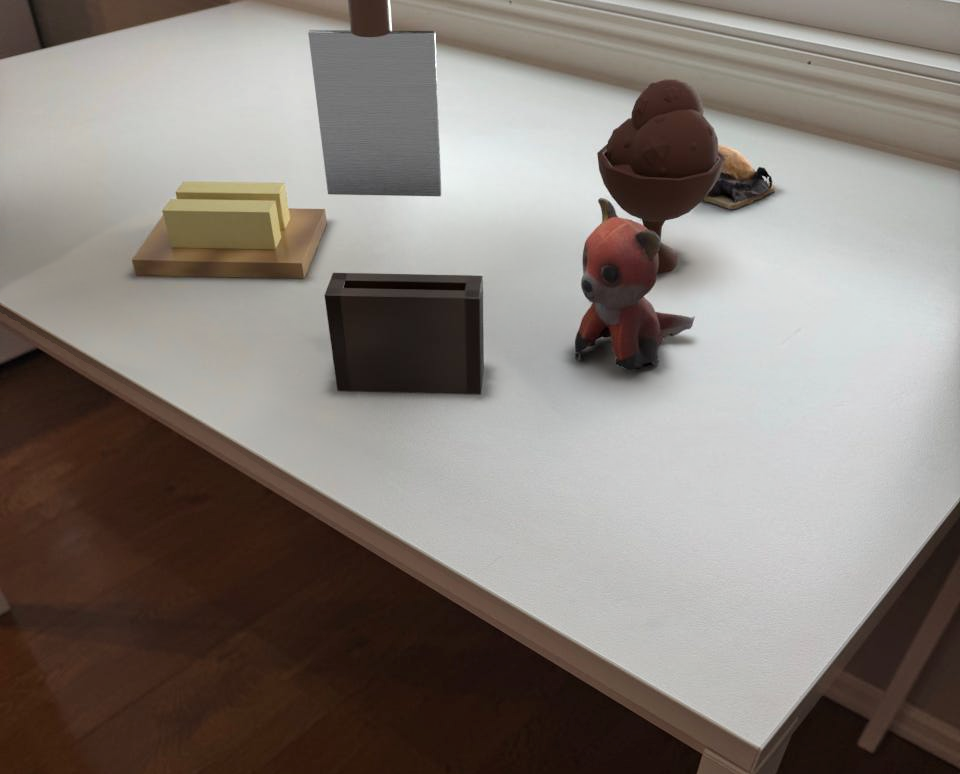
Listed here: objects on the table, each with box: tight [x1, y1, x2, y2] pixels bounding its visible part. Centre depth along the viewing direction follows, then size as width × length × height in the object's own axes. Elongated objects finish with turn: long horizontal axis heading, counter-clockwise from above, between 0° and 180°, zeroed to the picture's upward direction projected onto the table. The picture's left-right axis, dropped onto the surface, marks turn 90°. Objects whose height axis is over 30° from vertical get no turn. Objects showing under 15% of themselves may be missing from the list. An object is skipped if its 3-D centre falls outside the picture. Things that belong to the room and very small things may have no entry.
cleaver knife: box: [308, 0, 442, 197], centre depth 61 cm, size 8×3×19 cm, turn 86°
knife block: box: [324, 272, 485, 395], centre depth 74 cm, size 11×4×8 cm, turn 86°
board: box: [131, 207, 328, 279], centre depth 94 cm, size 16×12×2 cm
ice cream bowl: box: [596, 78, 726, 275], centre depth 86 cm, size 11×11×15 cm
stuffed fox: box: [574, 197, 696, 372], centre depth 75 cm, size 8×11×12 cm
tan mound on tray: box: [703, 144, 776, 211], centre depth 102 cm, size 11×8×4 cm
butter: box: [161, 180, 290, 250], centre depth 92 cm, size 10×7×4 cm
